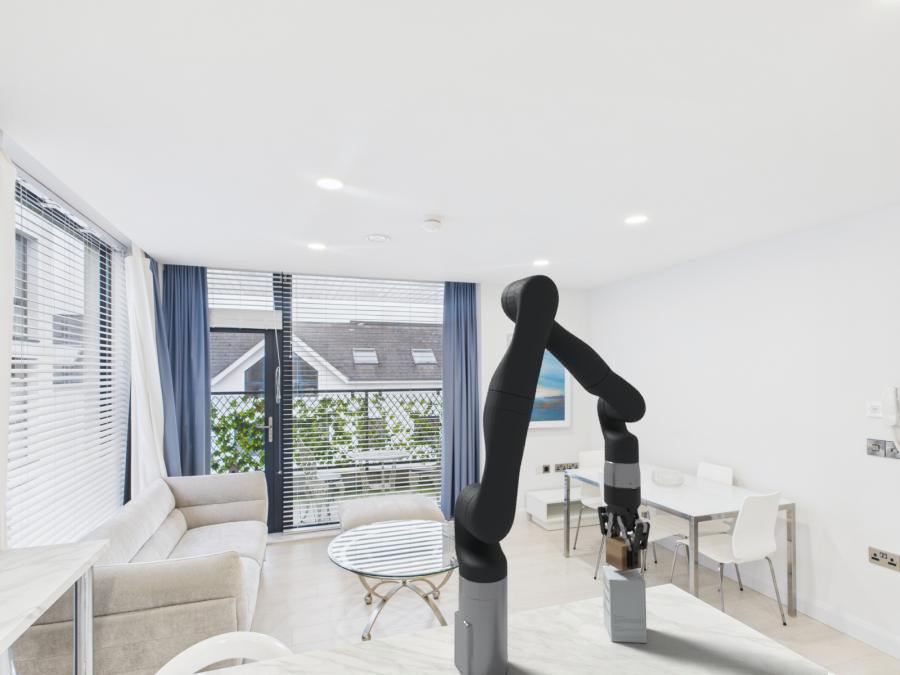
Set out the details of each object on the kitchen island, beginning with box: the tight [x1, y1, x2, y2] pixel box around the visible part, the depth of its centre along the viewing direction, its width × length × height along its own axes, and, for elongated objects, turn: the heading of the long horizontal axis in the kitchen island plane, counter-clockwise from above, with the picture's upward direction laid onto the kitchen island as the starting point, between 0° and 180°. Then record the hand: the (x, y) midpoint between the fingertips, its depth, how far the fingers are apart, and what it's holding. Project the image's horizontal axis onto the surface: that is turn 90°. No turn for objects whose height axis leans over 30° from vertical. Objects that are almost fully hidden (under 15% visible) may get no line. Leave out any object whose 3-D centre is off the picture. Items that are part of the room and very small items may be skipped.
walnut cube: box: [605, 535, 642, 571], centre depth 106 cm, size 5×5×5 cm
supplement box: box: [602, 565, 648, 644], centre depth 105 cm, size 7×7×13 cm
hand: (623, 562), depth 105 cm, fingers closed on walnut cube, 5 cm apart
